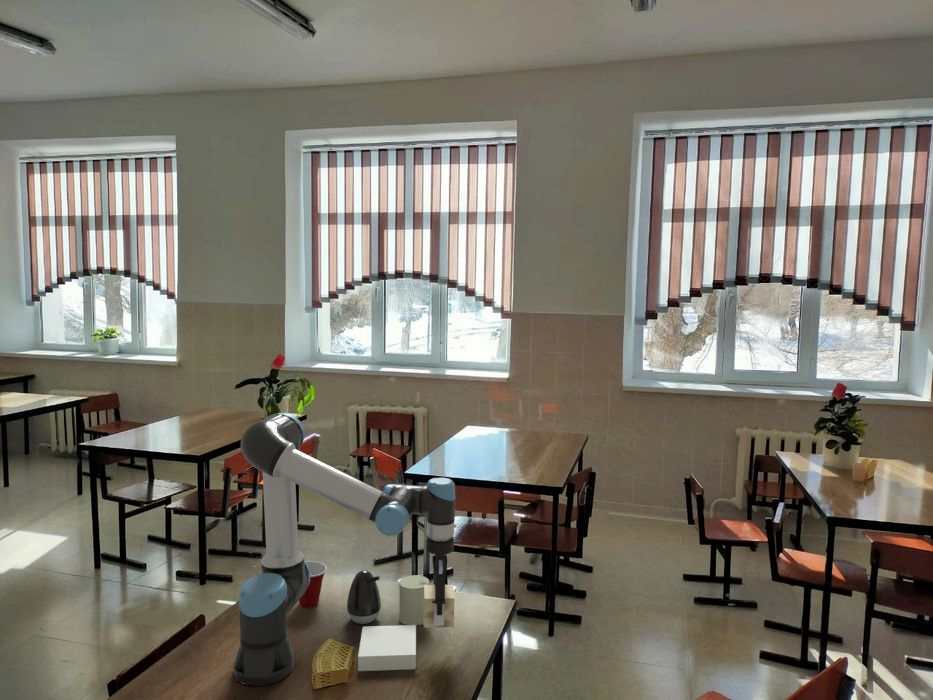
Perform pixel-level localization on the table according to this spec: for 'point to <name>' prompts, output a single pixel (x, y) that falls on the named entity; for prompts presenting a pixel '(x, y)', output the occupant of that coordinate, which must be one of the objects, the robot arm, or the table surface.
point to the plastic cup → (313, 584)
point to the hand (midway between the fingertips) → (438, 616)
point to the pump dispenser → (364, 598)
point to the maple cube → (429, 606)
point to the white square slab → (387, 648)
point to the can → (412, 599)
